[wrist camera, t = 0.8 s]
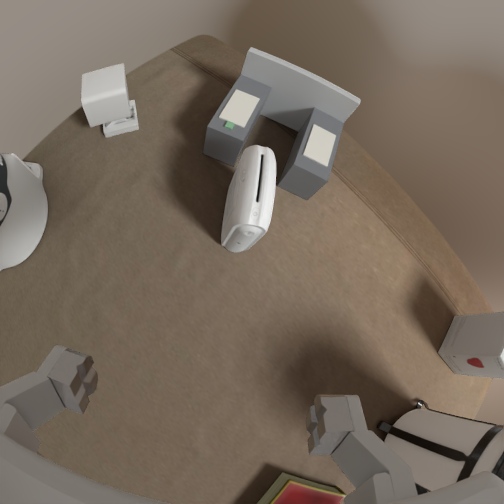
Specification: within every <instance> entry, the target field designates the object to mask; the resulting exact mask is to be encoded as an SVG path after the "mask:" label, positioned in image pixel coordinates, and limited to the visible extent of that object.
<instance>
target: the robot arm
mask: <svg viewBox="0 0 504 504" xmlns="http://www.w3.org/2000/svg"><path fill="white" fill-rule="evenodd" d="M42 178H43V169H42V167H41V166H40V165H39V164H37V163H31V162H24V161H22V160H21V159H20V158H19V157H18V156H16V155H15V154H14V153H11V154H7V153H0V271H1V270H2V269H5V268H9V267H13V266H15V265H18V264H19V263H21V262H23V261H24V260H25V259H26V258H27V257H28V256H29V255H30V254H31V253H32V252H33V251H34V249H35V248H36V246H37V245H38V243H39V241H40V239H41V237H42V235H43V232H44V229H45V226H46V221H47V215H48V203H47V197H46V193H45V191H44V188H43V185H42ZM93 363H94V362H93V359H92V357H91V356H88V355H86V354H83V353H80V352H77V351H74V350H72V349H69V348H66V347H63V346H61V345H56V346H55V347H54V348H53V349H52V351H51V352H50V353H49V355H48V356H47V358H46V359H45V360H44V362H43V363H42V365H41V366H40V368H39V369H38V371H37V372H34V371H33V372H31V373H29V374H27V375H25V376H22V377H20V378H18V379H16V380H14V381H12V382H10V383H8V384H5V385H3V386H1V387H0V504H172V503H168V502H163V501H159V500H155V499H151V498H147V497H143V496H140V495H136V494H133V493H130V492H126V491H123V490H120V489H117V488H114V487H111V486H108V485H105V484H103V483H100V482H97V481H95V480H92V479H90V478H87V477H85V476H82V475H80V474H78V473H75V472H73V471H71V470H69V469H66V468H64V467H62V466H60V465H58V464H56V463H54V462H52V461H50V460H48V459H46V458H44V457H42V456H40V455H38V454H37V453H36V452H37V450H38V448H39V446H40V444H41V442H40V439H39V438H38V437H37V436H36V435H35V433H34V432H33V431H34V430H36V429H37V428H38V427H40V426H41V425H43V424H44V423H46V422H47V421H48V420H50V419H51V418H53V417H54V416H56V415H57V414H58V413H60V412H61V411H63V410H64V409H65V408H67V409H70V410H72V411H75V412H78V413H81V414H84V412H85V410H86V408H87V406H88V404H89V402H90V401H89V397H88V396H89V395H91V394H93V393H94V391H95V389H96V387H97V382H98V374H97V371H96V370H95V369H94V368H93V366H92V365H93ZM306 428H307V431H308V432H309V433H310V434H311V435H310V437H309V438H308V449H309V455H331V457H332V458H333V460H334V461H335V462H336V463H337V465H338V466H339V467H340V469H341V470H342V471H343V473H344V474H345V475H346V476H347V478H348V479H349V480H350V482H351V483H352V484H353V485H354V487H355V488H356V489H355V490H354V491H353V492H351V493H350V494H348V495H347V496H346V497H345V498H344V502H345V504H504V481H503V480H502V479H500V478H499V477H498V476H496V475H495V474H493V473H491V472H490V471H483V472H480V473H478V474H476V475H473V476H471V477H469V478H466V479H464V480H461V481H459V482H456V483H454V484H451V485H448V486H445V487H443V488H440V489H437V490H434V491H431V492H428V493H424V494H421V495H418V494H417V490H416V486H415V482H414V478H413V474H412V471H411V467H410V466H409V465H408V464H407V463H406V462H405V461H403V460H402V459H401V458H400V457H399V456H398V455H397V454H396V453H395V452H394V451H393V450H392V449H391V448H389V447H388V446H387V445H386V444H385V443H384V442H383V441H382V440H381V439H380V438H379V437H378V436H377V435H376V434H375V433H374V432H373V431H372V430H368V429H367V425H366V421H365V417H364V414H363V410H362V406H361V402H360V399H359V397H358V395H321V394H318V395H317V396H316V397H315V399H314V405H313V406H311V407H310V409H309V411H308V413H307V418H306Z"/></svg>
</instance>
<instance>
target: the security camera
mask: <svg viewBox="0 0 504 504" xmlns="http://www.w3.org/2000/svg"><path fill="white" fill-rule="evenodd" d="M81 103H82V107H83V109H84V112H85V115H86V117H87V120H88V122H89V125H90V127H94V126H97V125H101V124H103V131H104V135H105V137H106V138H107V137H111V136H114V135H118V134H122V133H126V132H130V131H134V130H137V129H139V126H138V120H137V113H136V106H135V100H131V101H129V97H128V88H127V82H126V75H125V68H124V63H121V64H117V65H113V66H109V67H105V68H102V69H98V70H95V71H91V72H88V73H85V74H82V87H81ZM132 116H133V117H132ZM127 117H132V118H129V119H126V118H127Z"/></svg>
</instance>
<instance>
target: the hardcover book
mask: <svg viewBox="0 0 504 504" xmlns="http://www.w3.org/2000/svg"><path fill="white" fill-rule="evenodd" d="M345 496H346V494H345V493H344V492H343V491H342V490H341V489H340V488H339V487H337V486H335V488H333V487H329V486H326V485H322V484H318V483H315V482H311V481H308V480H305V479H301V478H298V477H295V476H292V475H289V474H286V473H283V472H282V473H281V475H280V476H279V477H278V479H277V480H276V481H275V482H274V484H273V485H272V486H271V487H270V488H269V490H268V491H267V492H266V493H265V495H264V496H263V497H262V498H261V499H260V500H259V502H258V503H257V504H340V502H341V501H342V500H343V499H344V497H345Z"/></svg>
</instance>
